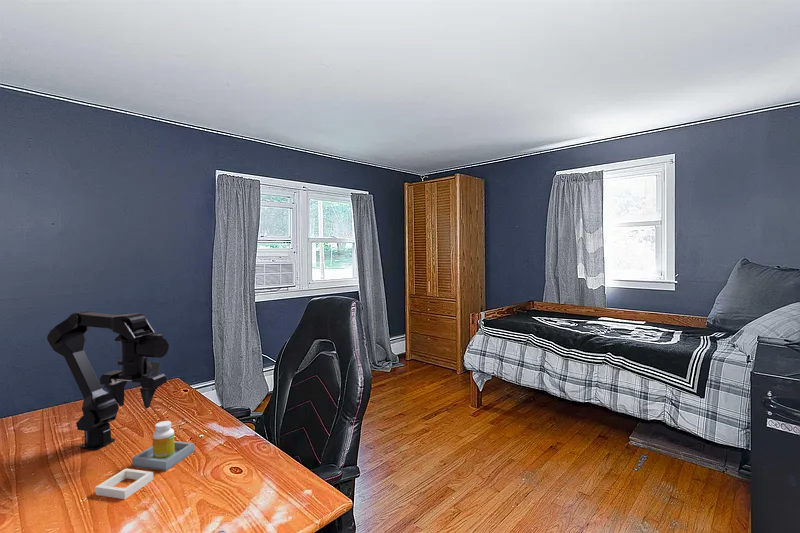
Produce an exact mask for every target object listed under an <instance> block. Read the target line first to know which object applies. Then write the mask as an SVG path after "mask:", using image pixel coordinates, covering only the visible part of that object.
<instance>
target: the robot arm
mask: <svg viewBox="0 0 800 533" xmlns="http://www.w3.org/2000/svg"><path fill="white" fill-rule="evenodd" d="M90 327H91V328H98V329H108V330H111V331H112V333H115V334H118V335H117V337H115V338H114V342H120V358H121V359H119V360H118V361H117V365H119V366H121V370H120V369H119V370H118V369H115V370H112V371H111V370H110V371H108V372H105V373H103V374H102V375H101V376H100V377H99V379H98V377H97V374H96V373H95V371H94V368H93V366H92V364H91V362H90V360H89V358H88V356H87V354H86V351H85V349H84V348H85V342H86V337H85V334H86V333H87V332H88V331H89V328H90ZM163 336H164V335H163V333H158V334H157V333H156V332H155V330H154V328H153V327H152V326H151V324H150V323H149V321H148V319H147V318H146V316H145V314H144V313H142V312H135V313H126V314H125V313H124V314H111V313H101V312H94V311H93V312H91V311H88V310H86V311H85V310H84V311H79V312H73V313H71V314H70V315H68V317H67V318H66V319H64V320H63V321H61V322H59V324H57V325H55V326H54V327H53V328H52V329H51V330H50V331H49V332H48V334H47V337H46V339H47V342H48V344H49V345H50V347H51V348H52V350H53V351H54V352H55V353H57V354H59V355H60V356H62V357H63V358H64V359H65V362H66V364H67V366H68V368H69V369H70V372H71V375H72V376H73V378H74V381H75V382H76V385H77V387H78V389H79V391H80V393H81V395H82V397H83V401H82V405H81V411H82V414H83V415H82V416H81V417H80V418H79V420H77V422H76V423H75V424H76V428H77V431H84V443H83V444H82V445H79V448H80V449H87V450H92V451H93V450H95V451H97V450H99V449H102V448H103V447H104V446H107V445H109V444H111V443H112V442H115V441H116V438H112V429H111V423H110V422H113V421H115V420H116V418H117V415H118V411H119V409H120V407H123V406H124V405H125V386H126V385H127V383H129V382H130V383H139V384H140V387H141V388H139V391H140V395H141V398H142V403H143V406H144V408H145V409H146V410H147V409H149V408H150V407H151V404H152V401H153V398H154V395H155V393H156V391H157V389H158V388H160V387H161V386H163V385H164V384H166V383H168V382H167V375H166V374H165V373H160V367H161V364H162V362H156V361H149V358H156V359H160V358H163V357H165V356H166V355H167V353H168V352H169V343H168V341H167V339H165V338H164V337H163ZM152 372H153V373H152ZM102 386H103V387H102ZM103 388H105V389H106V390H104V389H103ZM107 391H108V392H107Z"/></svg>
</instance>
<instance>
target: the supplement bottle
mask: <svg viewBox="0 0 800 533" xmlns="http://www.w3.org/2000/svg"><path fill="white" fill-rule="evenodd" d="M154 426H155V428H154V430H155V431H154V432H153V434H152V446H153V458H155V459H163V460H166V459H168V458H169V457H171V456H172V455H174V454H175V441H176V440H175V429H174V428H172V422H171V421H170V420H164V421H159V422H157V423H155V425H154Z"/></svg>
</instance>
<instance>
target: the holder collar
mask: <svg viewBox="0 0 800 533" xmlns="http://www.w3.org/2000/svg"><path fill="white" fill-rule="evenodd" d="M126 479H131V480H135V481H134V482H132V483H130V484H129V485H127V486H126V487H117V486H116V485H118V484H119V483H121V482H122V481H124V480H126ZM153 480H154V472H153V471H147V470H139V469H133V468H123V470H121V471H119V472H118V473H116V474H115V475H113V476H111V477H110V478H108V479H106V480H104V481H103V482H101V483H100V484H98V485H96V486H95V495H96V496H100V497H101V496H102V497H108V498H114V499H115V498H116V499H121V500H126V499H127V498H129V497H131V496H132V495H133V494H135V493H136V492H138V491H139V490H140V489H142V488H143V487H145V486H146V485H148V484H149V483H150V482H152V481H153Z"/></svg>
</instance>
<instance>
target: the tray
mask: <svg viewBox="0 0 800 533" xmlns="http://www.w3.org/2000/svg"><path fill="white" fill-rule="evenodd" d="M195 447H196V446H195V443H194V442H188V441H178V440H175V454H174V455H172V456H171V457H169V458H168V459H166V460H163V459H155V458H153V445H151V446H149V447H148V448H147V449H145V450H142V451H141V452H139V453H138V454H136V455H134V456H133V457H131V458H132V459H131V460H132V464H131V465H132V467H134V468H141V469H148V470H154V471H155V470H156V471H163V472H167V471H168V470H170V469H171V468H173V467H174V466H176V465H177V464H178V463H180V462H181V461H183V460H184V459H185V458H187V457H189V456H191V454H193V453H194V452H195V450H196V448H195Z"/></svg>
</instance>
